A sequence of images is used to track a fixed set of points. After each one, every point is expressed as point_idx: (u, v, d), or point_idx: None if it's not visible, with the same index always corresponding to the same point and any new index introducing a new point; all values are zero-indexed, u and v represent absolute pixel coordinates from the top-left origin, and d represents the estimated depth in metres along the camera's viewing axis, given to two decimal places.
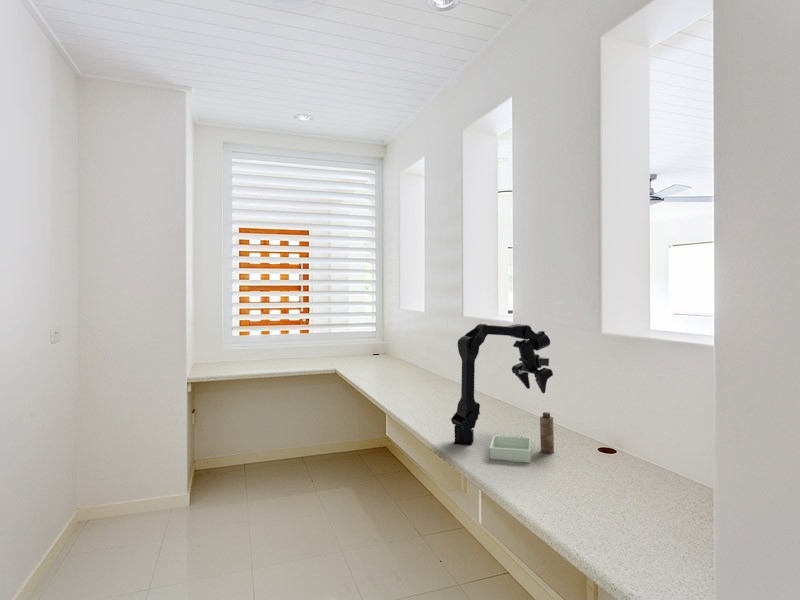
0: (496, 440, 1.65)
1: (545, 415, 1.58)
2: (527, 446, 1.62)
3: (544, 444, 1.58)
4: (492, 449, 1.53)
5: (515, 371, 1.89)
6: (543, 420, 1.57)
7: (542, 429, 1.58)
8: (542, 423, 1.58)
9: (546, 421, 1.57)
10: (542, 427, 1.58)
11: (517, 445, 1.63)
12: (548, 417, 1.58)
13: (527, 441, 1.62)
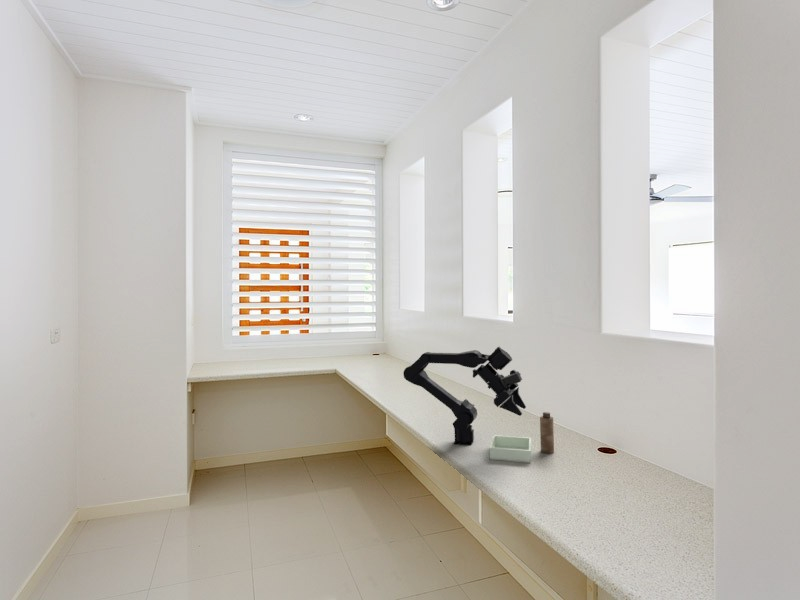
0: (496, 440, 1.65)
1: (545, 415, 1.58)
2: (527, 446, 1.62)
3: (544, 444, 1.58)
4: (492, 449, 1.53)
5: None
6: (543, 420, 1.57)
7: (542, 429, 1.58)
8: (542, 423, 1.58)
9: (546, 421, 1.57)
10: (542, 427, 1.58)
11: (517, 445, 1.63)
12: (548, 417, 1.58)
13: (527, 441, 1.62)
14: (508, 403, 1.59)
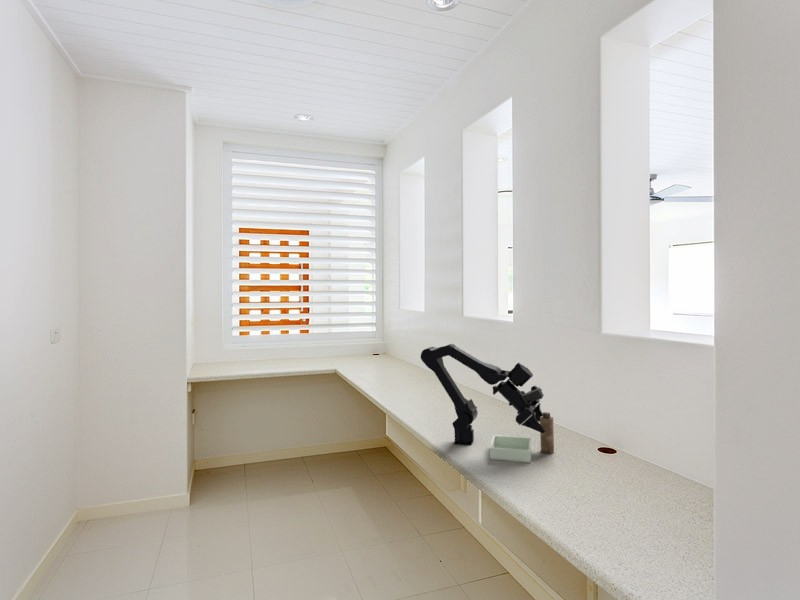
0: (496, 440, 1.65)
1: (545, 415, 1.58)
2: (527, 446, 1.62)
3: (544, 444, 1.58)
4: (492, 449, 1.53)
5: None
6: (543, 420, 1.57)
7: None
8: (542, 423, 1.58)
9: (546, 421, 1.57)
10: None
11: (517, 445, 1.63)
12: (548, 417, 1.58)
13: (527, 441, 1.62)
14: (530, 421, 1.56)
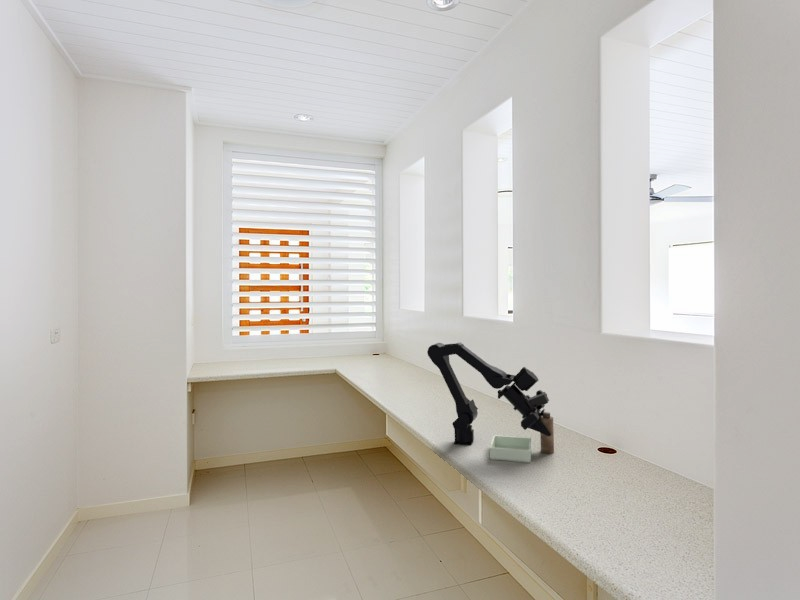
0: (496, 440, 1.65)
1: (545, 415, 1.58)
2: (527, 446, 1.62)
3: (544, 444, 1.58)
4: (492, 449, 1.53)
5: None
6: (543, 420, 1.57)
7: None
8: None
9: (546, 421, 1.57)
10: None
11: (517, 445, 1.63)
12: (548, 417, 1.58)
13: (527, 441, 1.62)
14: (536, 423, 1.57)
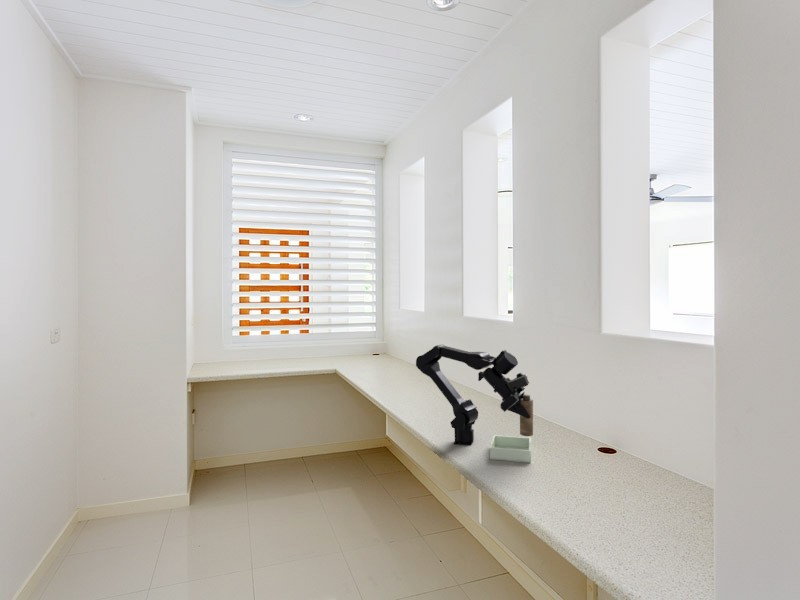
0: (496, 440, 1.65)
1: (525, 397, 1.57)
2: (527, 446, 1.62)
3: (523, 427, 1.57)
4: (492, 449, 1.53)
5: None
6: (523, 402, 1.57)
7: None
8: None
9: (526, 403, 1.56)
10: None
11: (517, 445, 1.63)
12: (528, 399, 1.57)
13: (527, 441, 1.62)
14: (516, 406, 1.56)
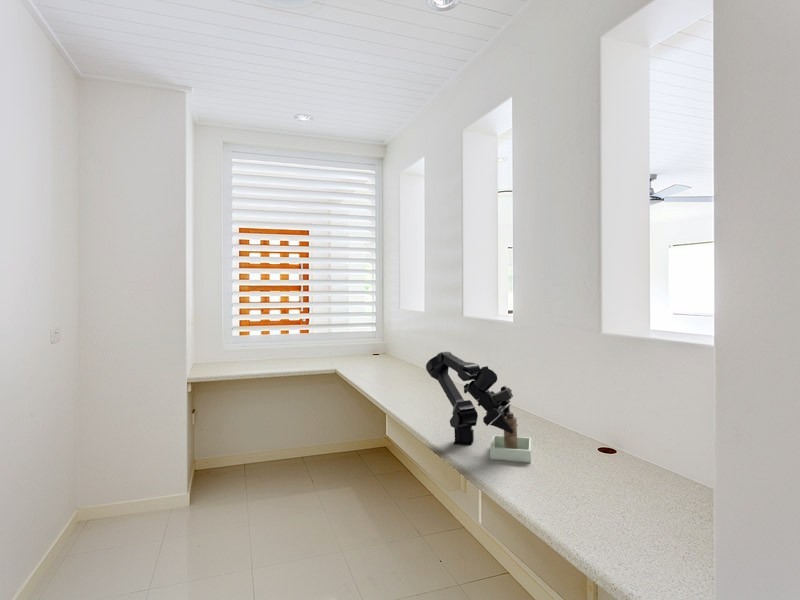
0: (496, 440, 1.65)
1: (508, 415, 1.57)
2: (527, 446, 1.62)
3: (507, 445, 1.56)
4: (492, 449, 1.53)
5: None
6: (506, 420, 1.56)
7: None
8: None
9: (509, 421, 1.56)
10: None
11: (517, 445, 1.63)
12: (511, 417, 1.57)
13: (527, 441, 1.62)
14: (499, 420, 1.55)
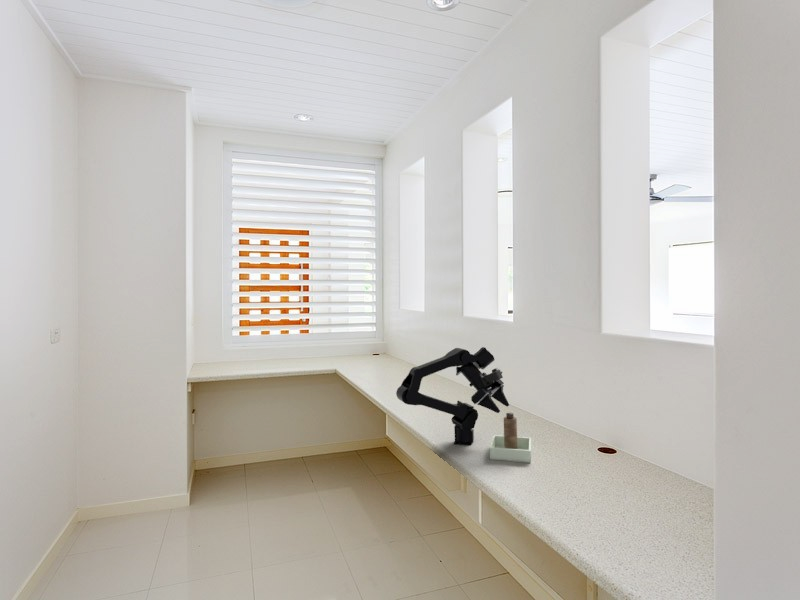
0: (496, 440, 1.65)
1: (508, 416, 1.57)
2: (527, 446, 1.62)
3: (507, 445, 1.56)
4: (492, 449, 1.53)
5: None
6: (506, 421, 1.56)
7: (505, 430, 1.57)
8: (505, 424, 1.57)
9: (509, 422, 1.56)
10: (505, 428, 1.57)
11: (517, 445, 1.63)
12: (511, 418, 1.57)
13: (527, 441, 1.62)
14: (486, 400, 1.63)
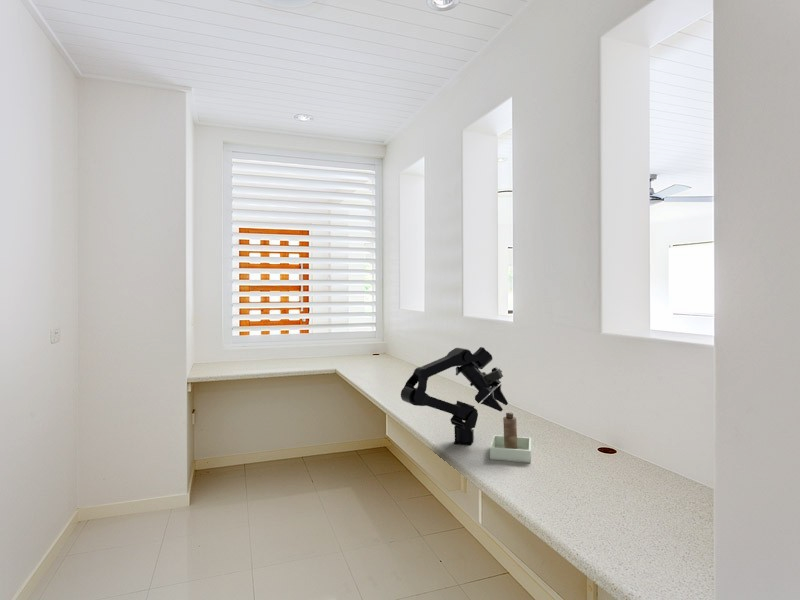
0: (496, 440, 1.65)
1: (508, 415, 1.57)
2: (527, 446, 1.62)
3: (507, 445, 1.56)
4: (492, 449, 1.53)
5: None
6: (506, 421, 1.56)
7: (505, 430, 1.57)
8: (505, 424, 1.57)
9: (509, 421, 1.56)
10: (505, 428, 1.57)
11: (517, 445, 1.63)
12: (511, 417, 1.57)
13: (527, 441, 1.62)
14: (489, 399, 1.64)
